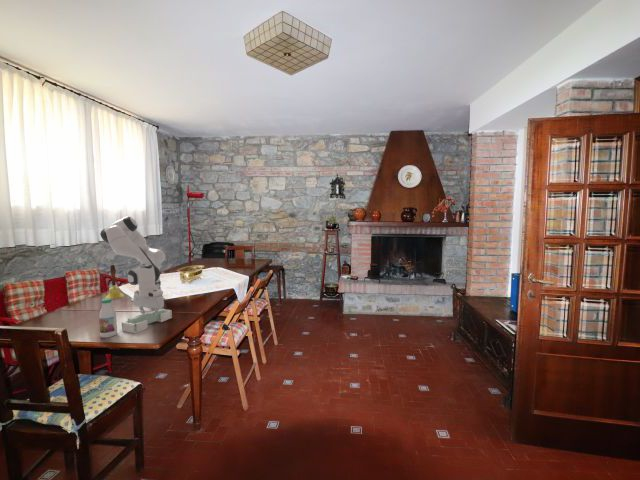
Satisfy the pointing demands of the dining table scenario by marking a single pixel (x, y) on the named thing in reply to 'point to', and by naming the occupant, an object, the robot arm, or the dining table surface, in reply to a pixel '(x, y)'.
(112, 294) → the handbell
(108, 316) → the milk bottle
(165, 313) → the endcap
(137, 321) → the slat
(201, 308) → the dining table surface
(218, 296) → the dining table surface
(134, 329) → the endcap
